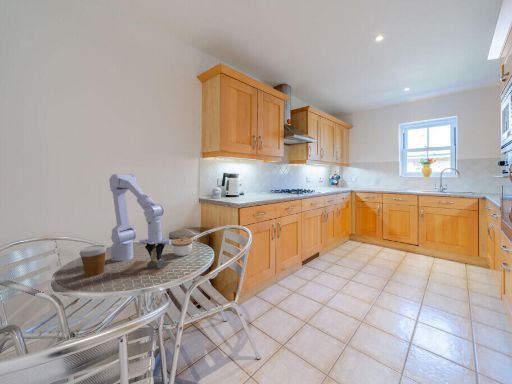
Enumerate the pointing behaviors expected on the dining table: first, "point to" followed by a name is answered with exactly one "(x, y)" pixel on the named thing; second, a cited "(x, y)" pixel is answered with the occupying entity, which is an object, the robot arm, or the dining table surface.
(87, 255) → the disposable coffee cup
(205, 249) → the dining table surface
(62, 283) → the dining table surface
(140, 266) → the walnut board
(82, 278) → the dining table surface
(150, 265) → the grey square socket
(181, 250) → the lidded jar
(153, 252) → the tan wooden block
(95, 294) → the dining table surface
